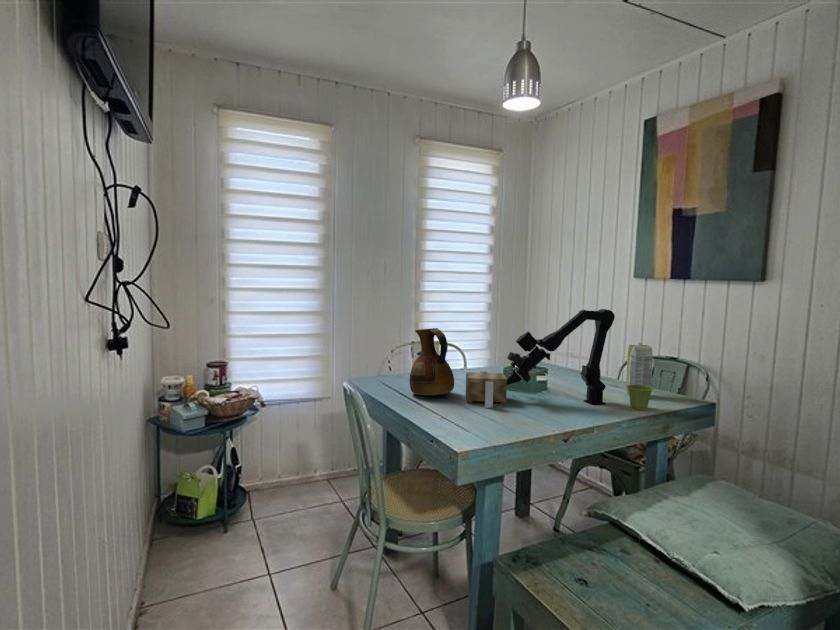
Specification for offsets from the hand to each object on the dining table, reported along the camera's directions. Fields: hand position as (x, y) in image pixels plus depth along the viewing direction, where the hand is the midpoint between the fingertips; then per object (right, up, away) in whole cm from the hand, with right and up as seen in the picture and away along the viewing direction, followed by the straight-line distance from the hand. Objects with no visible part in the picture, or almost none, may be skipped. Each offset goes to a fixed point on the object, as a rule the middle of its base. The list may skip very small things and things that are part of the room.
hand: (505, 384), depth 197 cm
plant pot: (+52, -8, -9) cm, 54 cm away
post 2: (-9, -8, -10) cm, 15 cm away
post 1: (-8, -6, +12) cm, 15 cm away
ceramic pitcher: (-31, -6, +9) cm, 33 cm away
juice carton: (+62, -7, +12) cm, 63 cm away
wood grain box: (-8, -7, +1) cm, 11 cm away
